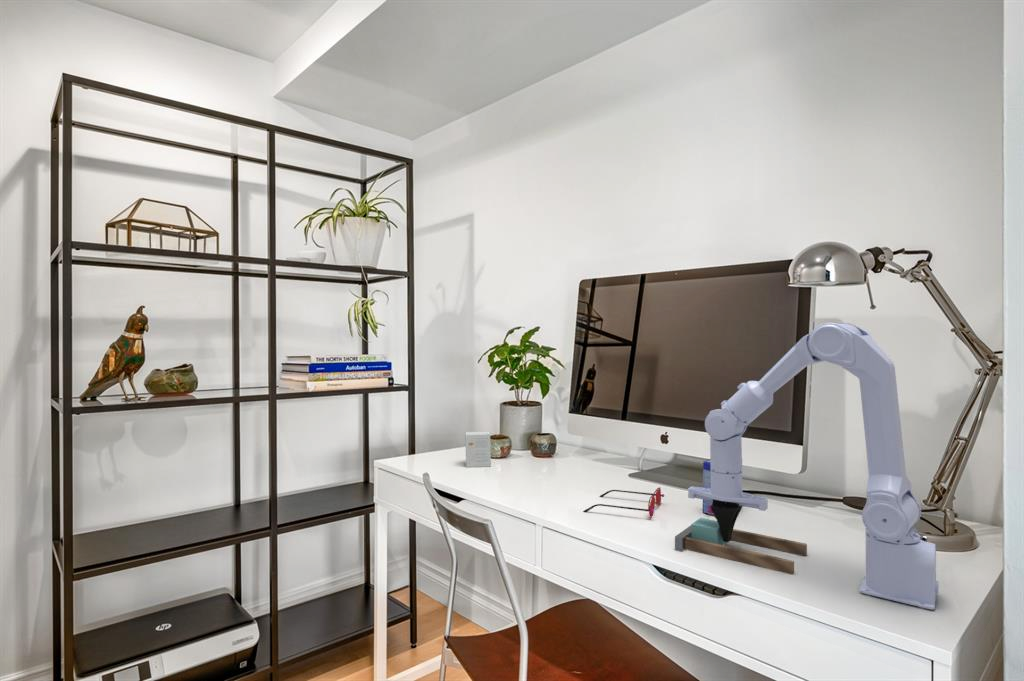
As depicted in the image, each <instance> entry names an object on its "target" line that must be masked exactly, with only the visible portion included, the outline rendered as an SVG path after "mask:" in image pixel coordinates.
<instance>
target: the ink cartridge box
mask: <svg viewBox="0 0 1024 681" xmlns="http://www.w3.org/2000/svg"><path fill="white" fill-rule="evenodd" d="M702 467H703V469H702V470H703V471H702V488H711V465H710V458H709V459H706V460H704V461H703V463H702ZM712 503H713V501H710V500H704V499H702V513H703V514H706V513H707V515H711V516H714V517H715V515H714V514H713V512H712V510H711V505H712Z"/></svg>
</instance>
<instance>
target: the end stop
mask: <svg viewBox="0 0 1024 681" xmlns="http://www.w3.org/2000/svg"><path fill="white" fill-rule="evenodd" d="M703 518H704V519H706V518H705V517H703ZM687 537H688V538H691V524H690V525H689V526H688V527H686V528H685V529H683V530H682V531H681V532H679V533H678V534H677V535H675V536H674V550H675V551H678V550H679V552H684V551H685V550H686V549H685V539H686V538H687Z"/></svg>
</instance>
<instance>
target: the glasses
mask: <svg viewBox="0 0 1024 681" xmlns="http://www.w3.org/2000/svg"><path fill="white" fill-rule="evenodd" d="M661 490H662V489H661V487H657V488H656V489H655V491H654V492H652V493H651V492H650V493H649V492H639V491H633V490H632V491H631V490H620V489H610V490H608V491H606V492H604V493H602V494H601V495H599V496H598V497H600V498H603V497H604V496H606V495H608V494H609V493H611V492H620V493H629V494H637V495H646V496H650V498H649V500H648V505H647V506H648V508H647V509H646V508H638V507H629V506H622V505H621V506H619V505H614V504H613V505H612V504H603V503H597V504H594V505H592V506H590V507H588V508H586V509H584V510H583V511H582V512H583V513H587V512H589V511H591V510H592V509H593V508H595V507H598V506H599V507H601V506H602V507H607V508H609V507H610V508H615V509H616V508H618V509H624V510H633V511H644V512H648V515H649V517H650V518H653V517H654V512H655V508H656V506H655V505H657V506H661V505H660V504H661V503H662V498H664V497H665V494H664V493H662V491H661ZM652 516H653V517H652Z"/></svg>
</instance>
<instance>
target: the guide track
mask: <svg viewBox="0 0 1024 681" xmlns="http://www.w3.org/2000/svg"><path fill="white" fill-rule="evenodd" d="M730 541H734V542H739V543H743V544H748V545H752V546H757V547H762V548H767V549H769V550H770V549H771V550H776V551H781V552H785V553H789V554H794V555H799V556H805V557H806V556H807V555H808V544H807V543H805V542H800V541H796V540H789V539H785V538H780V537H776V536H775V537H774V536H770V535H765V534H761V533H755V532H750V531H746V530H740V529H736V528H733V532H732V537H731V540H730ZM687 549H688V551H693V552H696V553H701V554H704V555H709V556H713V557H719V558H722V559H726V560H731V561H734V562H739V563H743V564H747V565H751V566H756V567H761V568H765V569H769V570H774V571H776V572H777V571H778V572H782V573H786V574H790V575H794V573H795V560H791V559H788V558H782V557H778V556H773V555H768V554H764V553H759V552H755V551H750V550H748V549H747V550H746V549H742V548H738V547H733V546H728V545H725V544H724V545H720V544H716V543H711V542H707V541H702V540H697V539H693V538H688V537H687V538H686V539H685V550H687Z"/></svg>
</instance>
